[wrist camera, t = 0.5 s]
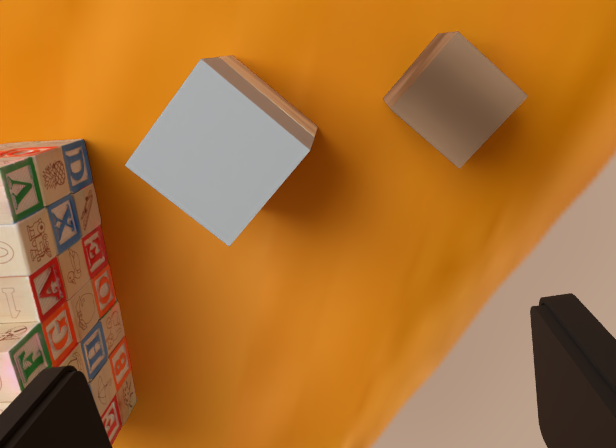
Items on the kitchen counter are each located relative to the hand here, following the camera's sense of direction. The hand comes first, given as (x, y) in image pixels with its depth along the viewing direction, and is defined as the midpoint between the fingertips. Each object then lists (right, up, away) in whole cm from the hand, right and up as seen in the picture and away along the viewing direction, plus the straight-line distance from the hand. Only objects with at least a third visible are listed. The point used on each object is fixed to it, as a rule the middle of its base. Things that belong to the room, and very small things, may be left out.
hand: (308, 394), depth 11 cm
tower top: (-5, +8, +21) cm, 23 cm away
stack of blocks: (-17, -1, +29) cm, 34 cm away
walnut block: (+8, +12, +23) cm, 27 cm away
